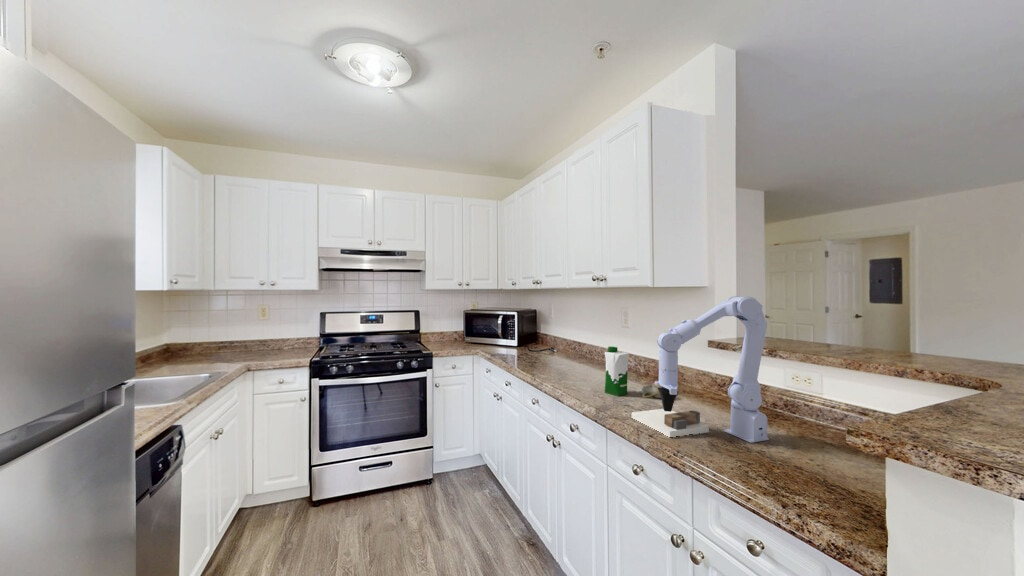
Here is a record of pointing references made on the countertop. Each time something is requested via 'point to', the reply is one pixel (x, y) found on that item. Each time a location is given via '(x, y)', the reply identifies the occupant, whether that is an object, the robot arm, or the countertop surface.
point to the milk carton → (616, 372)
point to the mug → (651, 391)
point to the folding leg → (682, 417)
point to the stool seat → (657, 422)
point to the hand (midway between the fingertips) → (667, 410)
